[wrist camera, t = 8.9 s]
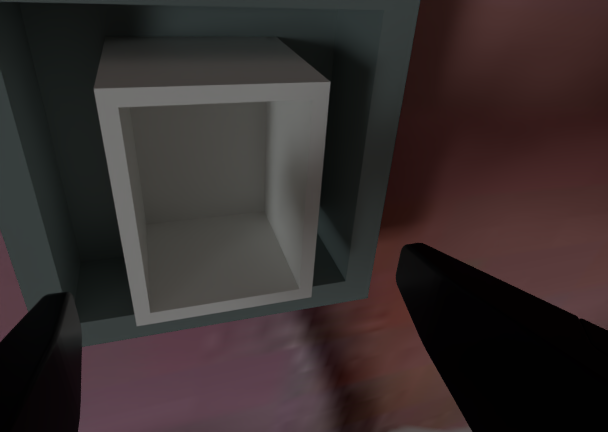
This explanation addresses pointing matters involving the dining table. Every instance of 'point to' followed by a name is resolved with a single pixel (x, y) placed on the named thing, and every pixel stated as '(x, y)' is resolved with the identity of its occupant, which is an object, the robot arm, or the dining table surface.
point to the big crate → (92, 159)
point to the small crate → (212, 170)
